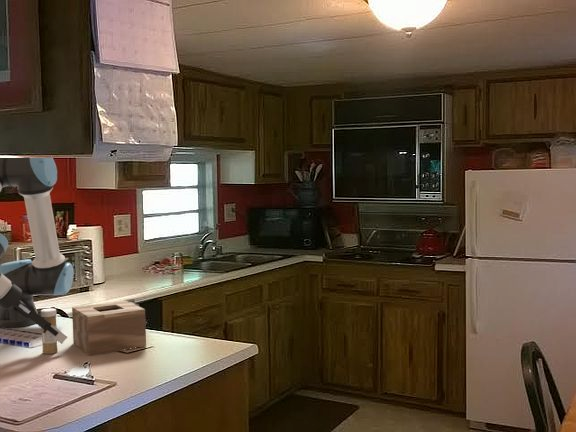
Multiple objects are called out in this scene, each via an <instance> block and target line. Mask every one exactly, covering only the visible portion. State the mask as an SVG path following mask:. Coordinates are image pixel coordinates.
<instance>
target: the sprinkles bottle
mask: <svg viewBox="0 0 576 432" xmlns="http://www.w3.org/2000/svg"><path fill="white" fill-rule="evenodd" d="M40 316H41V317H42V318H44V319H45V320H46V321H47V322H49V323H51V324H52V325H53V326H54V327H56V328H57V327H58V326H57V325H58V324H57V309H56V308H44V309H41V310H40ZM57 329H58V328H57ZM43 331H44V329H43V328H41V341H42V342H41V344H42V353H43V354H44V355H45V354H46V355H48V354H50V355H51V354H55V353H57V352H58V341H57V340H56V339H54V338H53V337H52V336H51V335H49V334H48V333H47V332H45V333H43Z"/></svg>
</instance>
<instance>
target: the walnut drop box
mask: <svg viewBox="0 0 576 432" xmlns="http://www.w3.org/2000/svg"><path fill="white" fill-rule="evenodd" d="M137 305H138V304H137ZM137 305H134V304H132V303H130V302H128V301H124V300H120V301H112V302H104V303H103V302H102V303H95V304H94V303H93V304H88V305H85V304H84V305H80V306H79V305H78V306H71V317H72V340H73V342H72V343H73V344H74V345H75V346H76V347H78V348H79V349H80V350H81V351H83V352H84V353H85V354H86V355H87V356H91V357H92V356H97V355H103V354H109V353H115V352H120V351H119V350H123V351H125V350H124V349H129V350H131V349H130V348H135V347H141V348H145V347H144V346H146V347H147V332H146V329H147V327H146V323H147V322H146V309H145V308H143V307H141V306H140V305H139V306H137ZM135 349H136V348H135Z"/></svg>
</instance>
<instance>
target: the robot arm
mask: <svg viewBox="0 0 576 432" xmlns="http://www.w3.org/2000/svg"><path fill="white" fill-rule="evenodd" d="M57 168H58V167H57V165H56V162H55V160H54V158H53V157H52V158H0V192H2V190H3V188H5V187H17V193H18V194H19V195H20V196H22V197H23V199H24V205H25V209H26V217H27V222H28V226H29V231H30V235H31V236H30V237H31V242H32V248H33V252H34V258H33V260H32V259H30V258H29V259H20V260H13V261H8V262H5V263H4V262H3V263H1V264H0V328H20V327H27V326H31V325H37V326H38V327H40V328H41V329H42V328H43V329H44V331H43V333H45V332H47V333H48V334H49V335H51V336H52V337H53V338H54V339H56V340H57V343H60V344H61V345H62V344H64V342H65V341H66V340H67V339H68V336H67V335H66V334H64V333H63V332H62V331H61V330H60V329H58V328H56V327H54V326H53V325H52V324H51V323H49V322H47V321H46V320H45V319H44V318H42V317H41V314H39V313H38V310H37V307H36V305H35V303H34V296H55V297H56V296H61V295H62V296H63V295H66V294H67V293H69V291H70V290H71V288H72V285H73V281H74V266H73V264H72V263H70V262H67V260H66V257H65V255H63V254H62V253H61V252H60V251H61V250H60V246H59V240H58V236H57V235H58V234H57V228H56V223H55V217H54V212H53V207H52V206H53V205H52V198H51V194H50V193H51V192H52V190H53V189H54V185H55V184H56V183H57V181H58V169H57ZM8 248H9V241H8V238H7V237H6V236H5V235H4V234H2V233H1V232H0V261H1V260H2V259H3V257H4V256H5V254H6V251H7V249H8Z"/></svg>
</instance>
